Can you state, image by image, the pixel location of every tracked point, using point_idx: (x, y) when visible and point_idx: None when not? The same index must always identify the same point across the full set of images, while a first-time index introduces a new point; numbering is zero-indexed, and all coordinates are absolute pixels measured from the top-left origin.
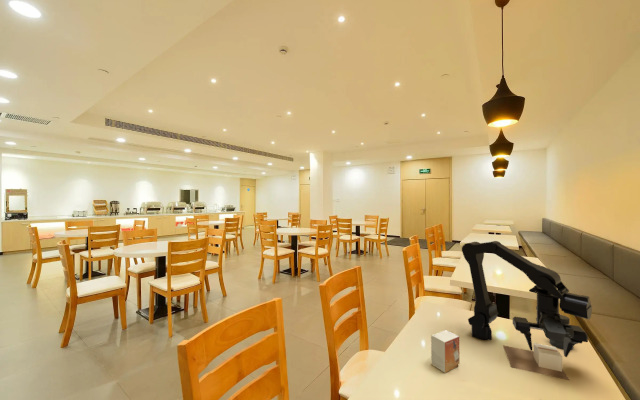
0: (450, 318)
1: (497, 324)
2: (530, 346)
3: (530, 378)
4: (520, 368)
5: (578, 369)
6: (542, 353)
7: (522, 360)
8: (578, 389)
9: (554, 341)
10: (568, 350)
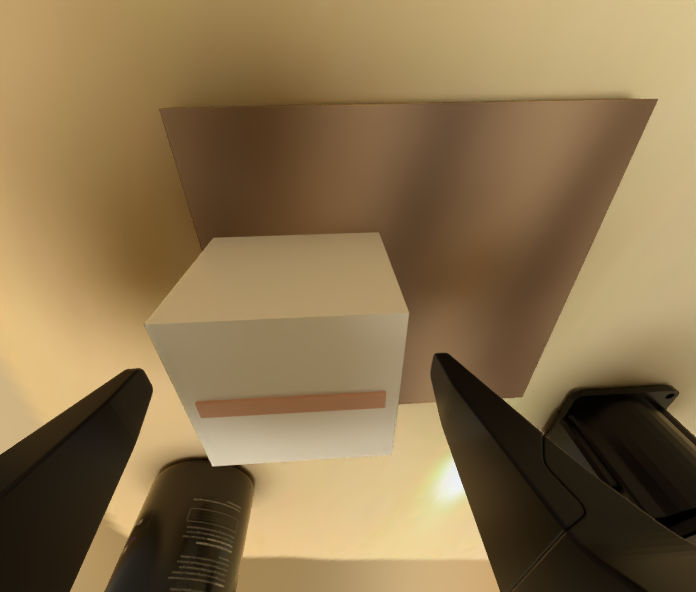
0: None
1: (438, 529)
2: (470, 383)
3: (511, 10)
4: (569, 117)
5: (124, 341)
6: (367, 309)
7: (477, 271)
8: (98, 12)
9: (225, 512)
10: (36, 442)
